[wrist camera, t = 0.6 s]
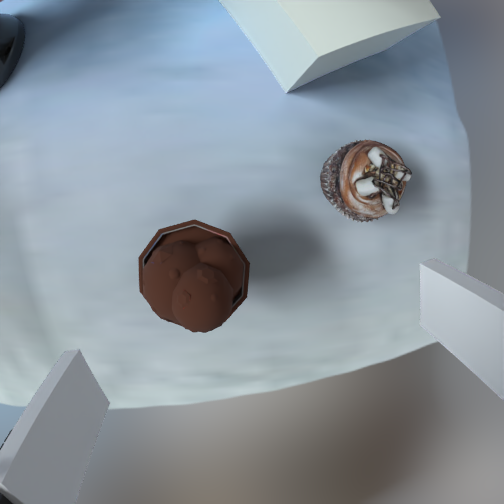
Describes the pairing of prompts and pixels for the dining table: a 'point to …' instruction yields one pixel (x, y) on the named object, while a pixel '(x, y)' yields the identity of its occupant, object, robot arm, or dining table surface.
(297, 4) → the white box with knob
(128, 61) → the dining table surface
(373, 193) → the cupcake
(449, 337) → the robot arm
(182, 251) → the ice cream bowl
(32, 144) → the dining table surface
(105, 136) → the dining table surface
